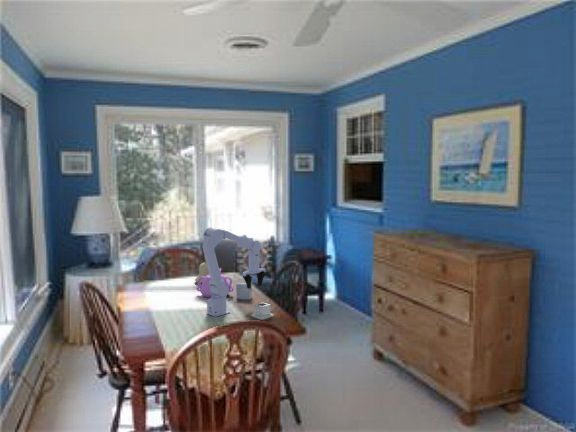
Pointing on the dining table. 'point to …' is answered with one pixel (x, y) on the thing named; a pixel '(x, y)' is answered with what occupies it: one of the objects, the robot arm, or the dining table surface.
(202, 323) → the dining table surface
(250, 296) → the medicine box
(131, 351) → the dining table surface
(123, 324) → the dining table surface
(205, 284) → the teapot
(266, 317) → the post stand
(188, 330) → the dining table surface
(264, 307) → the steel collar
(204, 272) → the handbell
